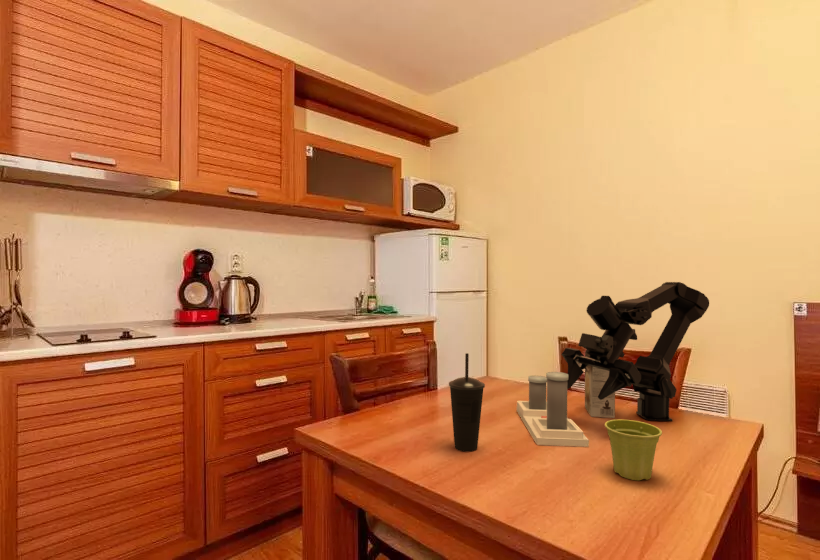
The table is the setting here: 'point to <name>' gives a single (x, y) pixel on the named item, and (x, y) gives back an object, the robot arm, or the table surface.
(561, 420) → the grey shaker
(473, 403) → the drinking cup
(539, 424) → the peg insertion board
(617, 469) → the plant pot
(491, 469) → the table surface
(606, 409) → the coffee box
